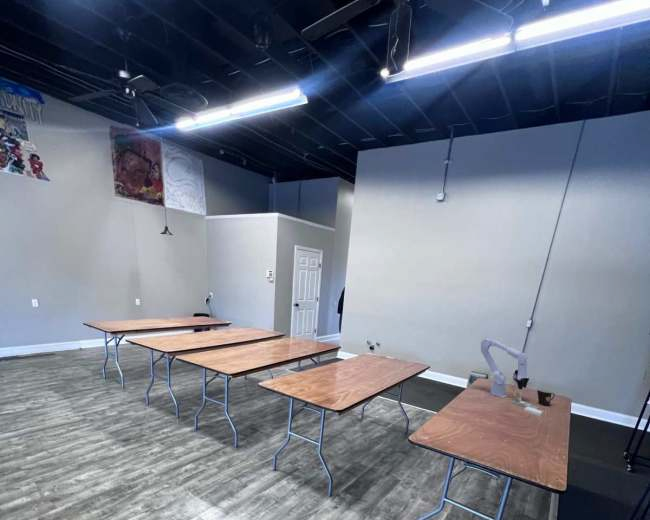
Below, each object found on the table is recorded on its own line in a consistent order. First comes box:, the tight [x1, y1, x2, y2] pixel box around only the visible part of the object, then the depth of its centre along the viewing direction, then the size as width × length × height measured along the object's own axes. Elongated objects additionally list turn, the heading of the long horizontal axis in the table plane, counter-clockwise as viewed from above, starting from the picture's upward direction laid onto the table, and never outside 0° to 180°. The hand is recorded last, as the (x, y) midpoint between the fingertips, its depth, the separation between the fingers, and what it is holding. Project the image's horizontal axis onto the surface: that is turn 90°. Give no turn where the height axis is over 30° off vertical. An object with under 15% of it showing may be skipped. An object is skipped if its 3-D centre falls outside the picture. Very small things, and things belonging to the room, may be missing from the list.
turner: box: [513, 390, 533, 407], centre depth 215 cm, size 10×6×7 cm, turn 38°
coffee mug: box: [536, 388, 556, 407], centre depth 217 cm, size 12×9×10 cm
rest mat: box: [510, 399, 540, 410], centre depth 214 cm, size 16×8×1 cm, turn 39°
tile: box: [523, 407, 544, 417], centre depth 201 cm, size 2×7×9 cm
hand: (522, 388), depth 222 cm, fingers open, 7 cm apart
